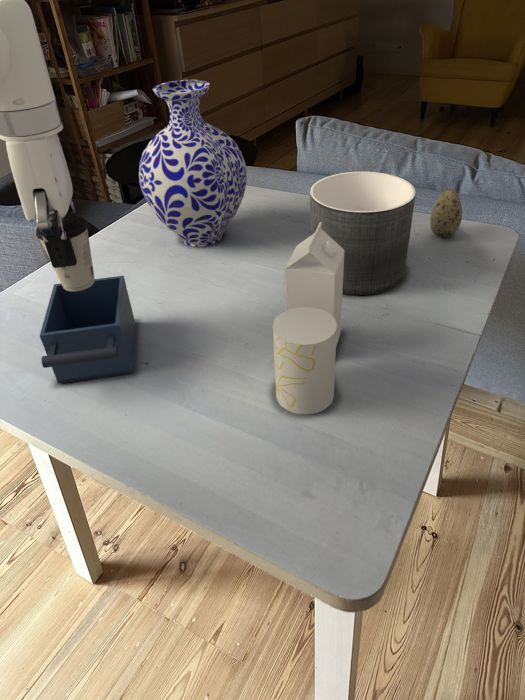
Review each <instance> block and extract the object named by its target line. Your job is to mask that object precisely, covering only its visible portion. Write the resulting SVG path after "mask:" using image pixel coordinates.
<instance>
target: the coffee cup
mask: <svg viewBox="0 0 525 700" xmlns="http://www.w3.org/2000/svg"><path fill="white" fill-rule="evenodd" d="M75 213H76V212H67V214H66V215H65V216H64V217H63V219H64V225H65V230H66V235H67V237H70V240H71V243H72V246H73V250H74V253H75V256H76V259H77V264H76V265H75V266H67V267H59V268H54V267H53V269H54V272H55V274H56V275H57V278H58V280H59V282H60V283H61V284H62V286H63V288H64V289H65V290H67V291H81V290H84V289H87V288H89V287H90V286H92V285H93V283H94V282H95V279H96V277H95V271H94V265H93V259H92V252H91V251H92V250H91V243H90V238H89V237H90V236H89V231H88V229H89V223H88V222H87V221H86V220H85V218H83V217H81V216H80V215H78V214H77V215H76V214H75ZM49 215H50V216H54V215H57V213H54V212H51V213H49ZM51 223H52V226H56V227H57V228H58V229H59V227H58V221H51ZM35 236H36V238H37V239H39V241H40V243H41V245H42V247H43V249H44V251H45V253H46V255H47V258H48V259H49V260H50V258H49V255H48V252H47V249H46V246H45V243H44V241H43V237H42V235H41V231H40V229H39V228H38V226H37V227H36V231H35Z"/></svg>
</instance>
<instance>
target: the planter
mask: <svg viewBox="0 0 525 700" xmlns="http://www.w3.org/2000/svg"><path fill="white" fill-rule="evenodd" d="M416 193H417V192H416V189H415V187H414V186H413V184H412V183H410V182H409V181H408V180H406V179H404V178H401V177H399V176H396V175H393V174H389V173H385V172H384V173H383V172H377V171H348V172H340V173H335V174H331V175H328V176H325V177H323V178H321V179H318V180H317V181H315V183H313V184H312V186H311V187H310V190H309V237H310V236H311V235H312V234H314V233H315V231H316V229H317V227H318V225H319V223H320V222H321V229H322V230H323V231H324V232H325V233H326V234H327V235H329V236H330V237H331V238H332V239H333V240H334V241H335V242H336V243H337V244H339V245H340V246H341V247H342V248H343V249H344V271H343V292H342V295H343V294H344V295H351V296H367V295H376V294H379V293H383V292H386V291H389V290H392V289H393V288H396V287H397V286H398V285H400V283H401V282H402V281H403V280H404V278H405V276H406V271H407V270H406V269H407V268H406V267H407V259H408V252H409V247H410V246H409V245H410V239H411V231H412V225H413V215H414V209H415V201H416Z"/></svg>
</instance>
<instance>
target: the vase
mask: <svg viewBox="0 0 525 700" xmlns="http://www.w3.org/2000/svg"><path fill="white" fill-rule="evenodd" d="M210 86H211V85H210V82H209V81H206V80H201V79H179V80H172V81H167V82H163V83H158V84H157V85H155V86H153V88H152V91H153V92H154V94H155V96H156V97H157V98H160V99H162V100H164V102H166V104H167V106H168V110H169V122H168V125H166V126H165V127H164V128H163V129H161V130H160V131H159V132H158V133H157V134H156V135H155V136H154V137H152V139H151V140H150V141H149V142H148V143H147V145H146V146H145V148H144V149H143V152H142V154H141V156H140V160H139V165H138V167H139V168H138V180H139V186H140V189H141V194H142V196H143V197H144V200H145V201H146V203H147V205H148V207H149V208H150V209H151V210H152V212H153V213H154V215H155V216H156V217H157V218H158V219H159V221H161V223H162V224H163V225H164V226H166V228H167V229H168V230H170V231H171V233H173V234H174V235H175V236H176V237H178V238H179V239H180V241H181V243H182V244H183V245H185V246H189V247H195V248H198V247H199V248H202V247H208V246H212V245H214V244H216V243H218V242H219V241H221V239H222V238H223V234H224V232H225V231H226V229H227V228H228V226H230V224H231V222H232V221H233V219H234V218H235V216H236V214H237V212H238V210H239V208H240V206H241V203H242V201H243V199H244V196H245V193H246V187H247V183H248V182H247V181H248V171H247V165H246V161H245V157H244V155H243V153H242V151H241V149H240V147H239V145H238V144H237V143H236V142H235V140H234V139H233V138H232V137H230V136H229V135H228V134H226V132H224V131H223V130H221V129H220V128H218V127H216V126H214V125H212V124H210V123H208V122H206V121H204V119H203V117H202V115H201V111H200V101H201V98H202V96H203V95H204V94H206V93H207V92H208V91H209V88H210Z"/></svg>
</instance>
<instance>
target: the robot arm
mask: <svg viewBox="0 0 525 700" xmlns="http://www.w3.org/2000/svg"><path fill="white" fill-rule="evenodd" d="M57 102H58V101H57V99H56V96H55V93H54V89H53V85H52V81H51V77H50V74H49V71H48V65H47V62H46V58H45V56H44V52H43V49H42V45H41V41H40V36H39V33H38V29H37V26H36V21H35V19H34V15H33V12H32V9H31V7H30V5H29V4H28V3H27V2H26V0H0V140H1V141H5V147H6V152H7V157H8V161H9V165H10V166H9V167H10V170H11V173H12V178H13V181H14V183H15V187H16V190H17V191H16V192H17V195H18V197H19V200H20V204H21V207H22V211H23V213H24V217H25V219H26V220H27V221H28V222H29V223H33V222H34V221H35V220H36V225H37V227H38V228H39V229H40V231H41V235H42V237H43V241H44V243H45V246H46V249H47V252H48V255H49V257H48V259H49V258H50V259H49V261H50V264H51V266H52V268H53V269H54V268H59V267H67V266H75V265H76V264H77V259H76V256H75V253H74V250H73V246H72V243H71V240H70V237H67V235H66V230H65V225H64V219H63V217H64V216H65V215H66V214H67V212H72V213H75V214H76V215H77V216H78V213H77V212H76V208H75V204H74V201H73V200H72V199H73V194H74V188H73V183H72V182H73V181H72V178H71V174H70V170H69V167H68V164H67V160H66V157H65V154H64V150H63V147H62V143H61V141H60V137H59V135H58V134H59V133H60V132H61V131H63V129H64V125H63V120H62V117H61V113H60V110H59V106H58V103H57ZM50 212H51V213H57V215H54V216H50V215H49V214H50ZM51 221H58V227H59V229H58V228H57V227H56V226H52V223H51ZM48 255H47V256H48Z"/></svg>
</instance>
